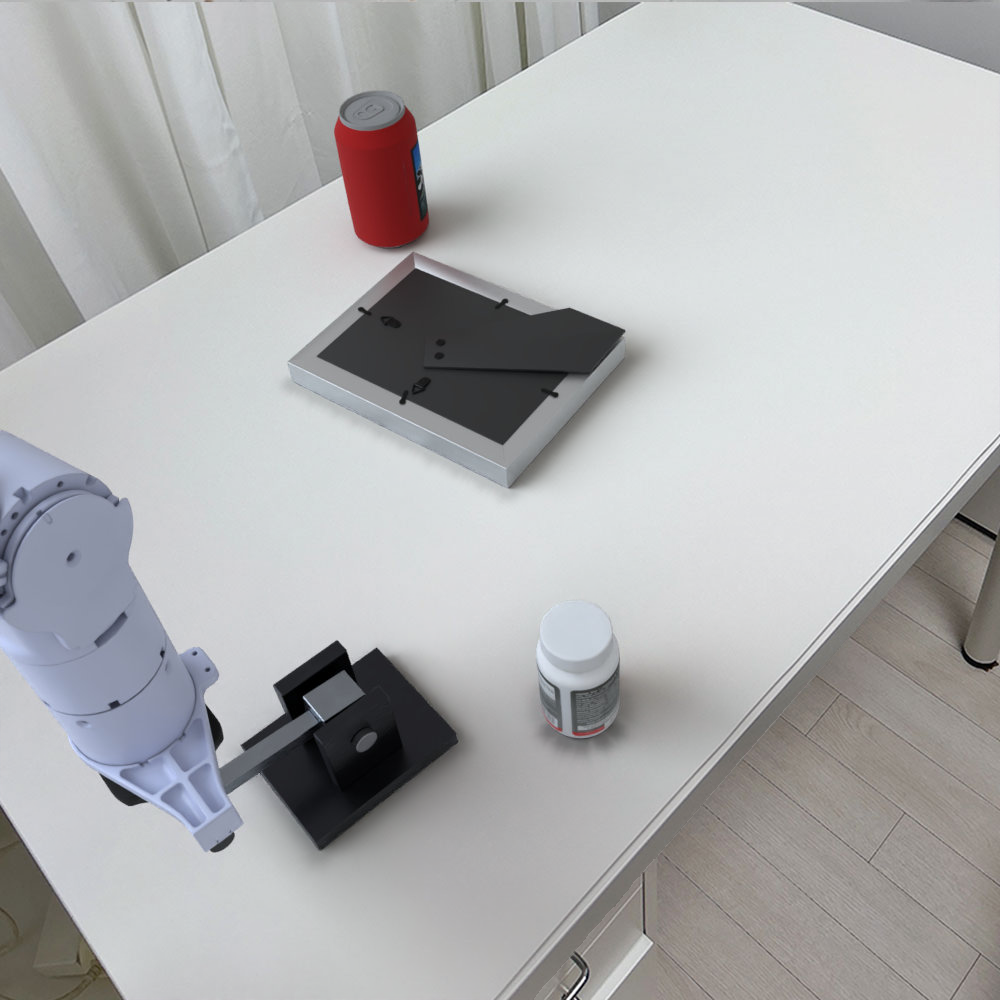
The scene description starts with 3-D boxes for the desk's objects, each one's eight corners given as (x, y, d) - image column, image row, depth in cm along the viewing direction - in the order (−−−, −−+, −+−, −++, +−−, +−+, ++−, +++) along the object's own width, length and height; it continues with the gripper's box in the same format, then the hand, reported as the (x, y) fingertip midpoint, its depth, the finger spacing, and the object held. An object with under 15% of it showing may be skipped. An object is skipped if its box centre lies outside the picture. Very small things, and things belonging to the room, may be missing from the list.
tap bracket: (319, 851, 62) (293, 799, 57) (245, 754, 66) (214, 697, 61) (458, 742, 65) (446, 683, 60) (379, 657, 70) (361, 595, 64)
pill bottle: (628, 681, 67) (630, 604, 61) (607, 749, 64) (607, 675, 58) (553, 662, 68) (548, 584, 62) (530, 728, 66) (522, 653, 59)
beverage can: (446, 227, 98) (430, 103, 89) (390, 264, 95) (368, 140, 86) (394, 199, 101) (374, 77, 92) (339, 234, 98) (312, 112, 89)
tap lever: (215, 861, 57) (205, 840, 55) (158, 781, 60) (148, 758, 58) (389, 739, 62) (386, 716, 60) (329, 671, 65) (324, 647, 63)
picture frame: (625, 357, 86) (416, 271, 94) (625, 329, 83) (411, 243, 92) (508, 488, 78) (292, 381, 86) (505, 462, 76) (284, 354, 84)
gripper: (269, 712, 45) (332, 845, 55) (105, 510, 52) (188, 661, 63) (113, 823, 42) (210, 941, 52) (-35, 594, 50) (75, 737, 60)
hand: (190, 794), depth 57 cm, fingers closed, pressing on tap lever
